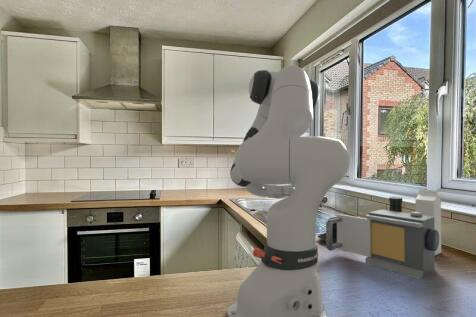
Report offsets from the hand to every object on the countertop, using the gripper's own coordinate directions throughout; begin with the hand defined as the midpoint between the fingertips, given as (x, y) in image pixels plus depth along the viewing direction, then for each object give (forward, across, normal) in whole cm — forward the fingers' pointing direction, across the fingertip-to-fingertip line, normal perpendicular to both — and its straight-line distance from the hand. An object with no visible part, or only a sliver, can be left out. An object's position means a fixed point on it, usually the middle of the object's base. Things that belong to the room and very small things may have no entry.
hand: (304, 189), depth 108 cm
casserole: (+2, +25, +22) cm, 33 cm away
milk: (+28, +34, +22) cm, 49 cm away
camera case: (+28, +12, +23) cm, 38 cm away
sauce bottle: (+22, +23, +22) cm, 39 cm away
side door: (+15, +4, +20) cm, 25 cm away
